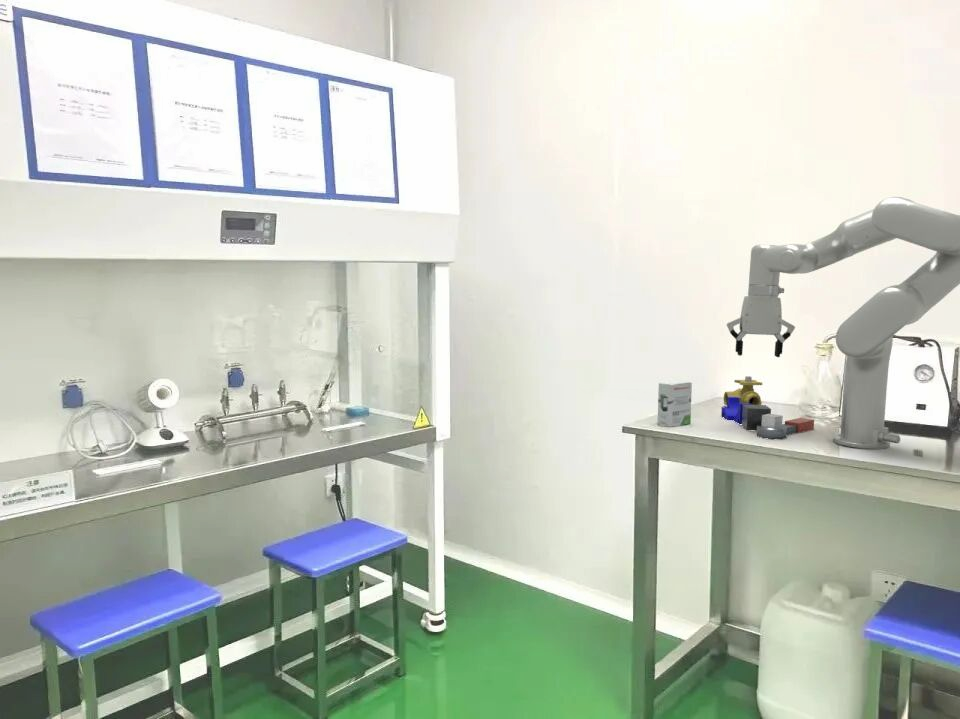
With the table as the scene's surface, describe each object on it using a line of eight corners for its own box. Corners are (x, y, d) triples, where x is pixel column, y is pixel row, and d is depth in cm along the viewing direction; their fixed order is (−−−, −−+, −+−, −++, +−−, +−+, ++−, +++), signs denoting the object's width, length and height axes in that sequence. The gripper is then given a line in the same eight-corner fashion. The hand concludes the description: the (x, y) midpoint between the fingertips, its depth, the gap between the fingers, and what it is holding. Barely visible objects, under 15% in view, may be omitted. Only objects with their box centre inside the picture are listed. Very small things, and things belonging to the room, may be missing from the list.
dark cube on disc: (764, 426, 210) (765, 405, 209) (769, 431, 204) (771, 409, 203) (741, 425, 211) (742, 404, 210) (746, 430, 205) (747, 408, 204)
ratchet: (776, 440, 193) (777, 419, 192) (750, 435, 198) (751, 414, 198) (819, 430, 206) (821, 410, 205) (794, 425, 211) (795, 406, 211)
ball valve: (765, 411, 233) (767, 379, 232) (731, 411, 233) (733, 378, 232) (750, 404, 245) (751, 373, 244) (718, 404, 245) (719, 373, 244)
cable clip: (721, 417, 224) (722, 396, 223) (736, 417, 224) (737, 396, 223) (734, 425, 212) (735, 404, 212) (750, 425, 212) (751, 404, 211)
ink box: (677, 421, 217) (679, 379, 216) (691, 424, 213) (693, 381, 212) (656, 424, 212) (657, 382, 211) (670, 427, 208) (671, 384, 207)
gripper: (793, 292, 205) (788, 355, 208) (727, 290, 208) (722, 352, 210) (801, 293, 198) (795, 359, 200) (731, 291, 201) (727, 356, 203)
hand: (758, 355), depth 205 cm, fingers open, 9 cm apart
